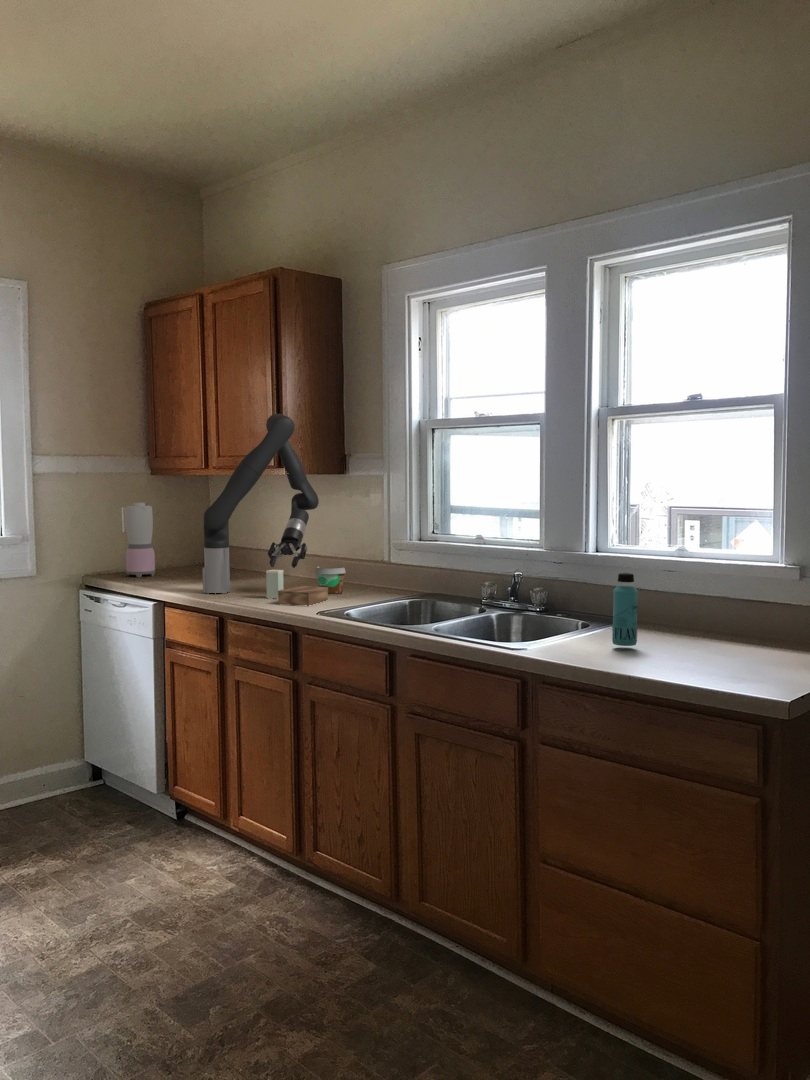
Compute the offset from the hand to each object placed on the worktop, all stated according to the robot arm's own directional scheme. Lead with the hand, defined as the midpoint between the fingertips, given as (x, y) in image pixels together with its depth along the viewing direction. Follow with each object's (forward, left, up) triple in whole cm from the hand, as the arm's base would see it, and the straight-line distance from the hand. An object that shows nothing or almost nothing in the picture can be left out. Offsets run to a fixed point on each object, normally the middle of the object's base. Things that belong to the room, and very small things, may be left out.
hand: (282, 566), depth 328 cm
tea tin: (0, -7, -11) cm, 13 cm away
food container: (+15, +7, -11) cm, 20 cm away
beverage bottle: (+126, -66, -11) cm, 143 cm away
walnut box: (+14, -14, -11) cm, 23 cm away
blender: (-86, +39, -11) cm, 95 cm away
